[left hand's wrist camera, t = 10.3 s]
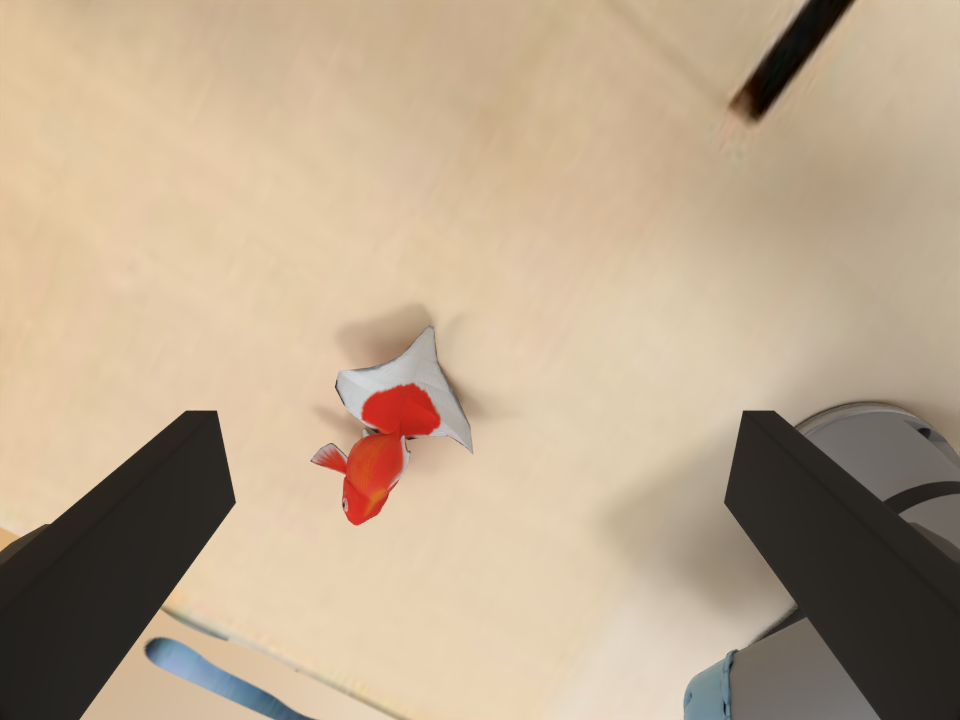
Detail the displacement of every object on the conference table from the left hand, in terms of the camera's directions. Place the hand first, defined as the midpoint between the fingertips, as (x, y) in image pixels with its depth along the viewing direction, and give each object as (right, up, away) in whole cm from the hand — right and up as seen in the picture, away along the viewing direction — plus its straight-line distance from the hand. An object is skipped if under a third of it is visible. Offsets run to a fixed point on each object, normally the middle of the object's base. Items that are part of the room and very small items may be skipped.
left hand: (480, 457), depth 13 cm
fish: (-7, -1, +29) cm, 30 cm away
